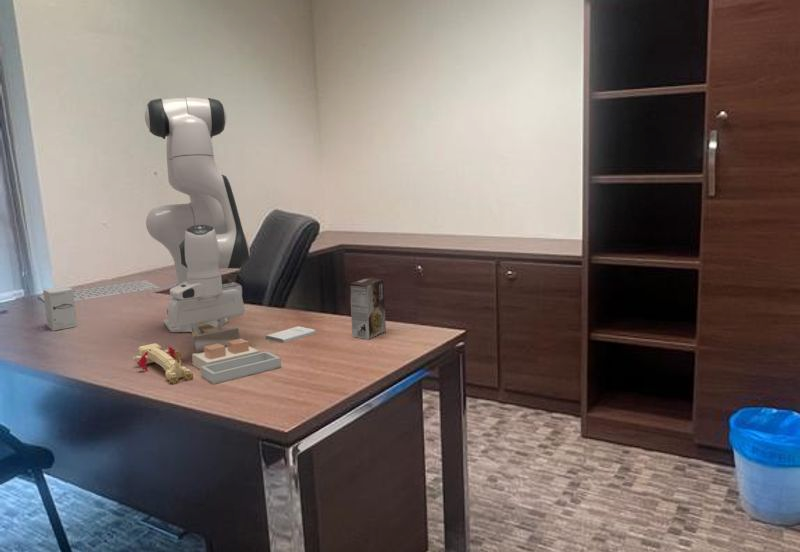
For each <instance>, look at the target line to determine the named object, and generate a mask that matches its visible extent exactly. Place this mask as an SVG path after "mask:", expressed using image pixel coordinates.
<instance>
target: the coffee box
mask: <svg viewBox="0 0 800 552" xmlns="http://www.w3.org/2000/svg"><path fill="white" fill-rule="evenodd" d="M384 283H385V282H384V279H383V278H382V279H380V278H379V279H378V278H375V277H365V278H362V279H359V280H357V281H353V282H351V283H349V293H350V296H349V297H350V312H351V313H350V315H351V332H352V333H351V334H352V335H351V336H352V338H355V337H358V338H357V339H362V338H365V339H364V340H372V339H373V337H374V338H376V337H377V335H378V334H380V333H382V332H384V333H386V332H385V331H387V329H386V328H387V327H386V325H387V324H386V305H385V304H386V303H385V286H384V285H385V284H384ZM382 334H383V333H382ZM380 335H381V334H380ZM375 336H376V337H375ZM378 336H379V335H378ZM371 338H372V339H371Z"/></svg>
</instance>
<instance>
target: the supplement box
mask: <svg viewBox="0 0 800 552" xmlns="http://www.w3.org/2000/svg"><path fill="white" fill-rule="evenodd" d="M42 291H43V295H44V300H45V302H44V307H45V314H46V322H47V328H49V329H50V330H52V331H53V332H55V331H59V330H64V329H70V328H76V327H78V323H77V315H76V306H75V301H74V296H73V288H71V287H68V286H62V287H54V288H47V289H46V288H45V289H43V290H42Z"/></svg>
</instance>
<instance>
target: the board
mask: <svg viewBox="0 0 800 552" xmlns="http://www.w3.org/2000/svg"><path fill="white" fill-rule="evenodd" d="M225 351H226V356H223V357H219V358H214V359H210V358H208V357H206V356H205V354H204V350H203V351H198V352H194V353H191V356H192V357H191V360H192V365H193V366H194V367H196V368H197V369H199V370H201V368H200V367H201V366H206V365H210V364H214V363H219V362H223V361H227V360H232V359H236V358H240V357H245V356H249V355H253V354H258V353H260V352H259V350H258V349H255V348H253V347H251V346H249V351H245V352H241V353H236V354H234V353H232V352H230V351H228V345H226V346H225Z"/></svg>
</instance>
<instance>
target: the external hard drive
mask: <svg viewBox="0 0 800 552" xmlns="http://www.w3.org/2000/svg"><path fill="white" fill-rule="evenodd" d="M315 334H316V329H313V328H308V327H303V326H301V325H300V326H299V325H298V326H294V327H291V328H288V329H284V330H281V331H276V332H274V333H271V334H266V335H265V340H270V341H275V342H276V343H277V342H278V343H282V344H285V343H289V342H292V341H296V340H298V339H302V338H305V337H308V336H311V335H315Z"/></svg>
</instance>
